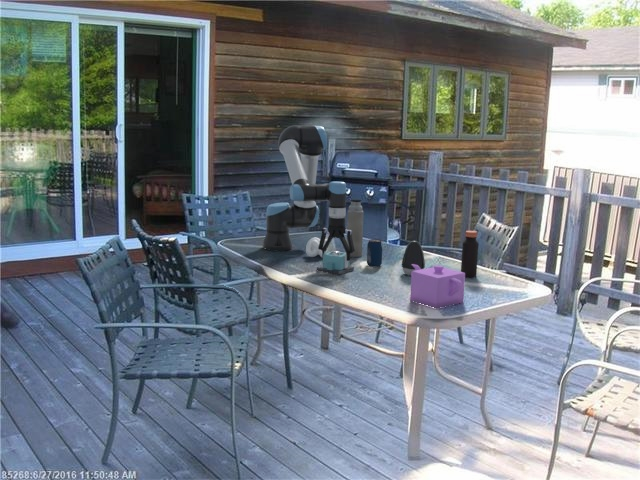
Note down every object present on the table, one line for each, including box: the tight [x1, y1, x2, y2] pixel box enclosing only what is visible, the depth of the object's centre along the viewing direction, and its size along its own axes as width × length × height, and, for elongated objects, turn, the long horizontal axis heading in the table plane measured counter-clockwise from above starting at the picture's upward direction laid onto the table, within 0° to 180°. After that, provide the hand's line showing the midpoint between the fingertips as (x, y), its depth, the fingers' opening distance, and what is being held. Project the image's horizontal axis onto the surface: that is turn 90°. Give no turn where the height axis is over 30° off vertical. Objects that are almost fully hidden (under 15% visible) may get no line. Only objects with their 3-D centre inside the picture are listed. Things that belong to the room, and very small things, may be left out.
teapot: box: [409, 264, 466, 309], centre depth 244 cm, size 15×25×14 cm, turn 38°
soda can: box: [366, 238, 383, 268], centre depth 301 cm, size 7×7×12 cm
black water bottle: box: [460, 230, 479, 279], centre depth 284 cm, size 7×7×20 cm
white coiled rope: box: [305, 236, 331, 258], centre depth 318 cm, size 11×12×9 cm
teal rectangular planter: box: [322, 250, 351, 270], centre depth 290 cm, size 14×9×6 cm, turn 153°
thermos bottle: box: [345, 198, 364, 258], centre depth 321 cm, size 8×8×28 cm
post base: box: [316, 250, 355, 276], centre depth 290 cm, size 12×12×8 cm
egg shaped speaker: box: [401, 240, 426, 277], centre depth 285 cm, size 10×10×15 cm
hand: (335, 266), depth 291 cm, fingers open, 9 cm apart
